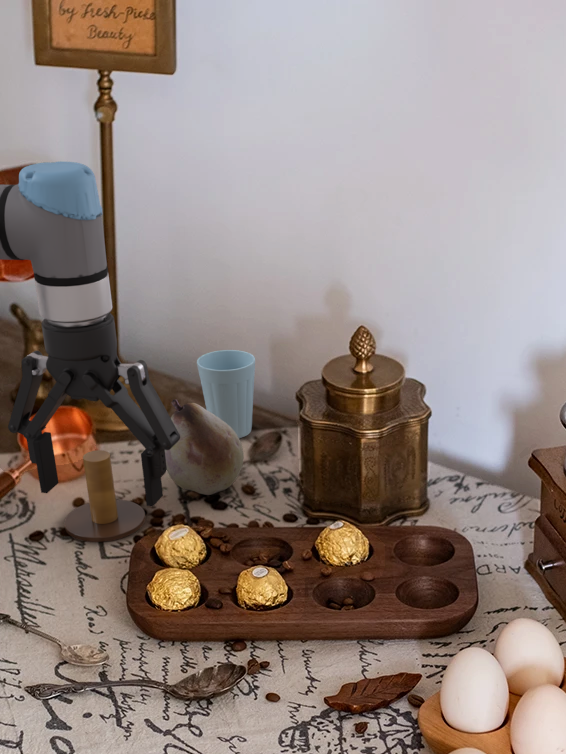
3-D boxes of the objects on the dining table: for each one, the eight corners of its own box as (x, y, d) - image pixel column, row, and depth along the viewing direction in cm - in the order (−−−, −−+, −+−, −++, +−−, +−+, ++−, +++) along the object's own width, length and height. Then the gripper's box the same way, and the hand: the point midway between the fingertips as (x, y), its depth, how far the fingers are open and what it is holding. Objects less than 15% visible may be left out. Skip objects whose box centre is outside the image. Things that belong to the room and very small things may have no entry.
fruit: (151, 483, 137) (141, 394, 132) (213, 461, 143) (206, 374, 137) (198, 512, 131) (190, 419, 125) (261, 487, 136) (256, 397, 131)
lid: (50, 536, 126) (39, 469, 122) (88, 499, 134) (79, 435, 130) (124, 546, 124) (115, 478, 120) (158, 508, 132) (151, 443, 128)
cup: (219, 416, 155) (213, 346, 150) (268, 424, 153) (264, 353, 148) (193, 438, 149) (186, 365, 144) (244, 446, 147) (239, 373, 142)
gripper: (199, 313, 117) (214, 491, 127) (-8, 296, 123) (22, 468, 133) (170, 336, 111) (188, 522, 121) (-46, 317, 116) (-12, 496, 127)
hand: (101, 494), depth 127 cm, fingers open, 12 cm apart
